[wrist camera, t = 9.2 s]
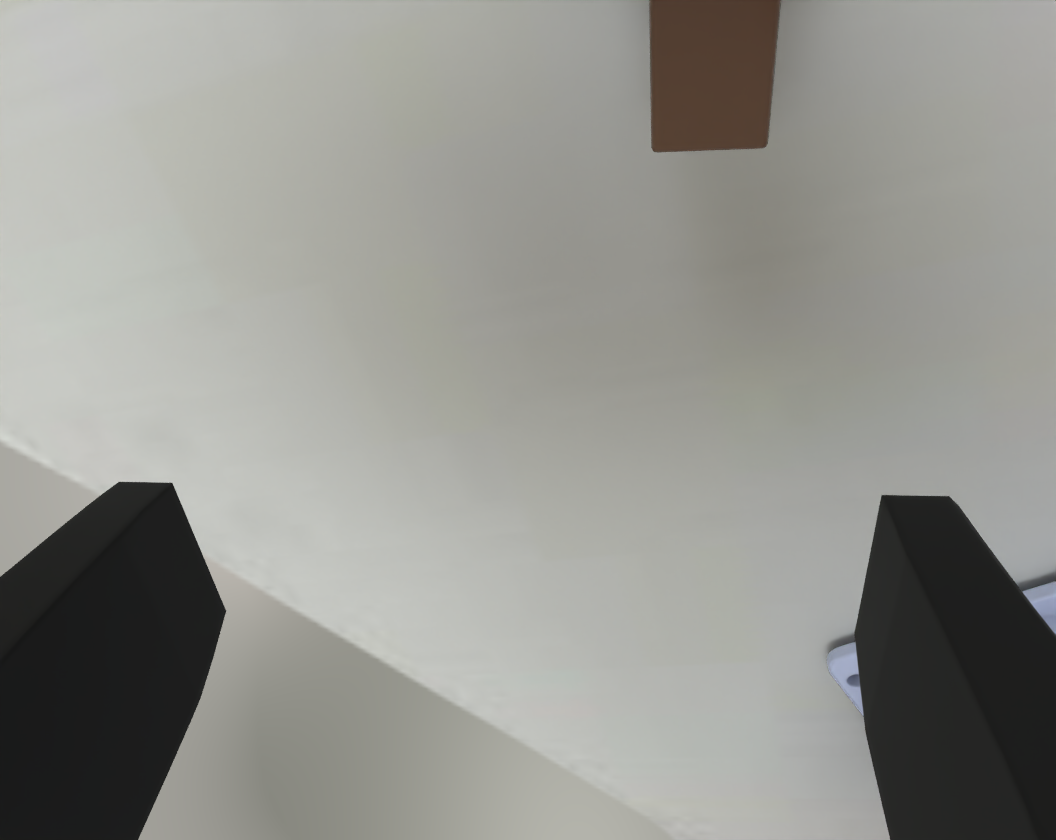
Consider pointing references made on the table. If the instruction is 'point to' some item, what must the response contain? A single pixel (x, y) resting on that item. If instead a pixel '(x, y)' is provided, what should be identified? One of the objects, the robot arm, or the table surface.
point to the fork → (712, 73)
